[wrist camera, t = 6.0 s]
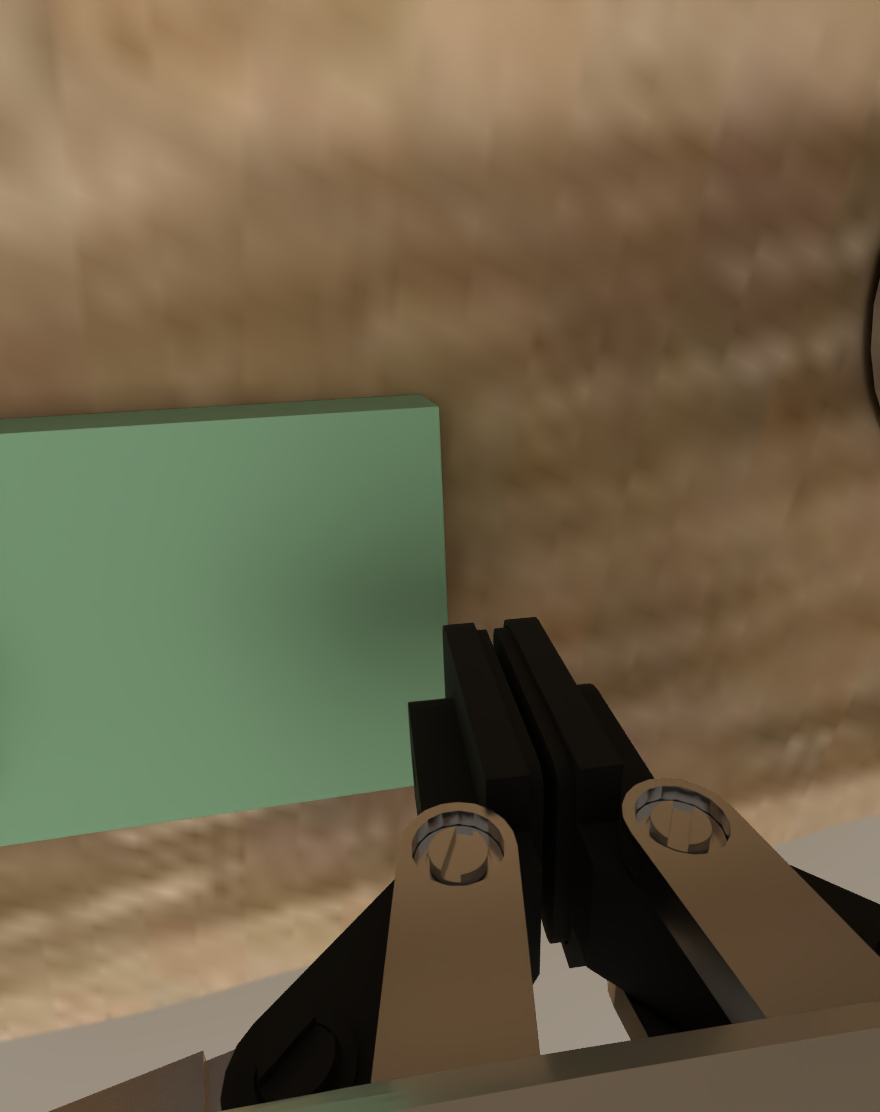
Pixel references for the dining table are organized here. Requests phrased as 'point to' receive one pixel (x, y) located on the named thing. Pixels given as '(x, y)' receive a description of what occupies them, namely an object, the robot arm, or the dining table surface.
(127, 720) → the putting green
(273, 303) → the dining table surface
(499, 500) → the dining table surface
